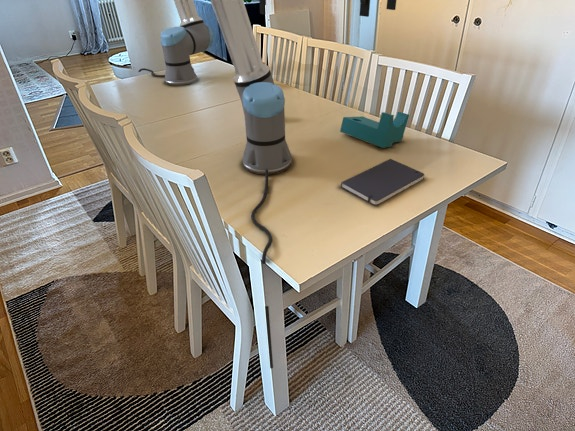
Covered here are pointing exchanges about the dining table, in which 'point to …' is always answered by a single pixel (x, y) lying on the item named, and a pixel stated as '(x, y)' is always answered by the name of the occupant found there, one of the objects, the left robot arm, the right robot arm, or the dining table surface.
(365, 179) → the notebook
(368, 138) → the teal l-shaped bracket
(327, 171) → the dining table surface
